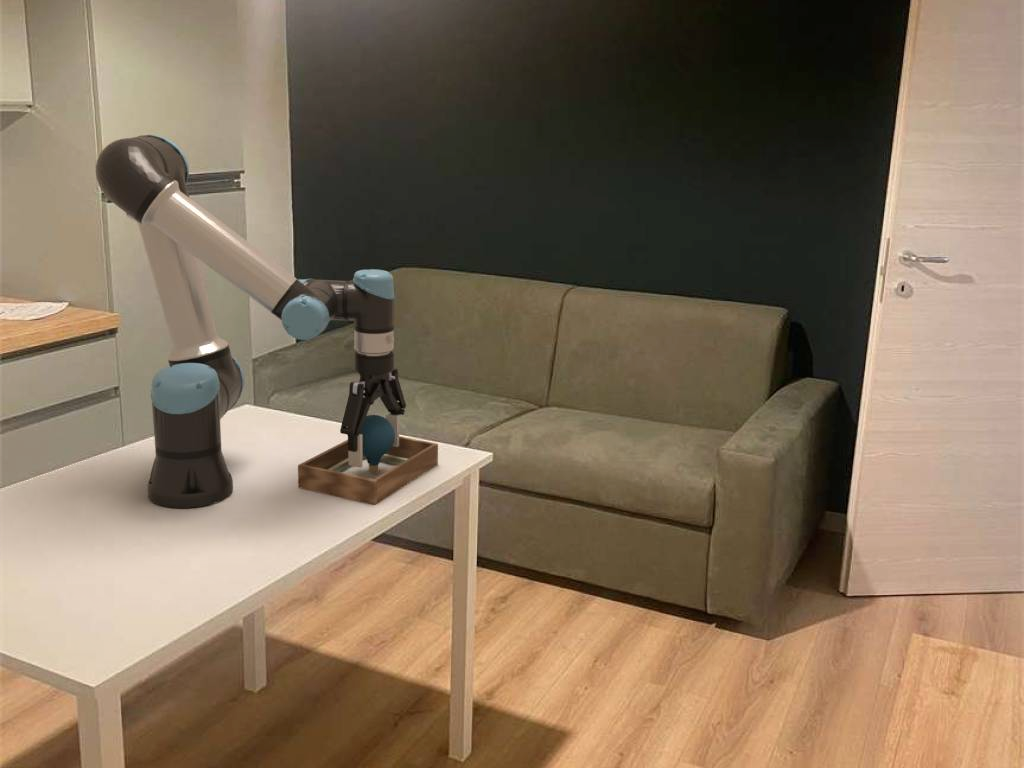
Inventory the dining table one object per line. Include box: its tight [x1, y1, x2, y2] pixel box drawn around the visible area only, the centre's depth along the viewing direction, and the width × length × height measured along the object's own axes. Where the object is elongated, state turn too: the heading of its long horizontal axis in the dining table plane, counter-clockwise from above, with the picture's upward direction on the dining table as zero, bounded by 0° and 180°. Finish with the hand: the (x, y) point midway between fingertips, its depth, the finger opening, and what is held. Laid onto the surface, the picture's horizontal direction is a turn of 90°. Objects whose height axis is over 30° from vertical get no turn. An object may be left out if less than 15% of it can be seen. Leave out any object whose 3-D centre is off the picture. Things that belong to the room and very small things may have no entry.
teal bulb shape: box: [355, 414, 395, 475], centre depth 207 cm, size 8×8×12 cm
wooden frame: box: [297, 435, 439, 505], centre depth 207 cm, size 17×24×4 cm
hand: (374, 455), depth 208 cm, fingers open, 13 cm apart
